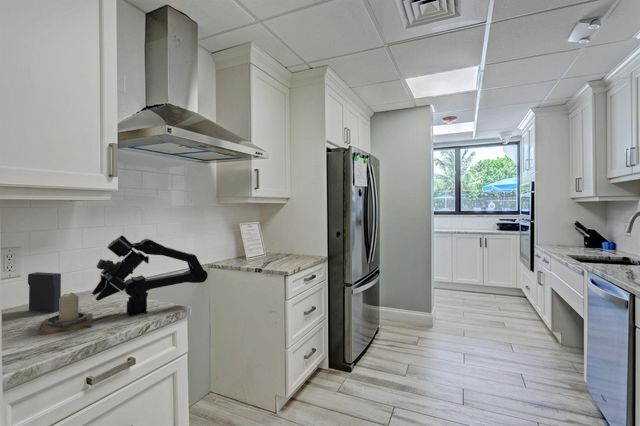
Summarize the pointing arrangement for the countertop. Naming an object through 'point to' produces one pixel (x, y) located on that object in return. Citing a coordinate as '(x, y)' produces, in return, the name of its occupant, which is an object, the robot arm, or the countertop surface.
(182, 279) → the robot arm
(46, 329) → the dock
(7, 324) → the countertop surface
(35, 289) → the navy upright box
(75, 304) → the candle
